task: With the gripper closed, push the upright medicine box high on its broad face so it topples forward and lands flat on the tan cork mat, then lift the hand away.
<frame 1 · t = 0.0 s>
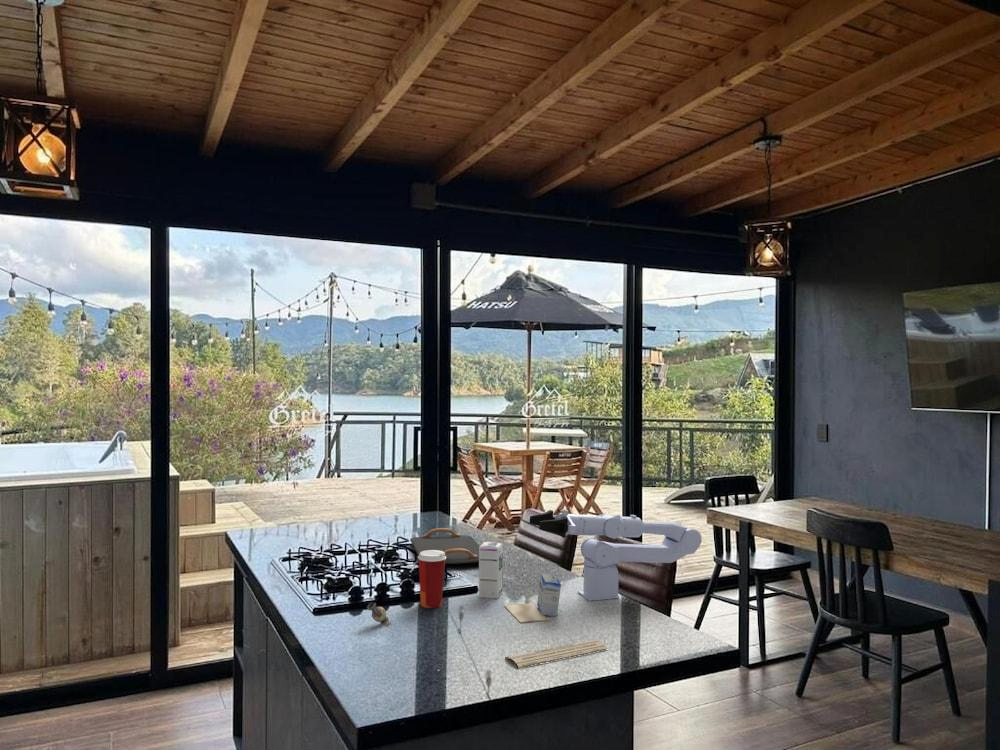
hand: (534, 522, 196), 22 cm above the counter, tool horizontal, fingers open, 7 cm apart
syrup box: (490, 595, 201), on the counter
paper cup: (430, 605, 191), on the counter
medicine box: (547, 611, 188), on the counter, touching cork mat
tan ridged strip: (555, 657, 159), on the counter
serving board: (447, 556, 245), on the counter
cork mat: (525, 613, 186), on the counter
vase: (377, 626, 175), on the counter
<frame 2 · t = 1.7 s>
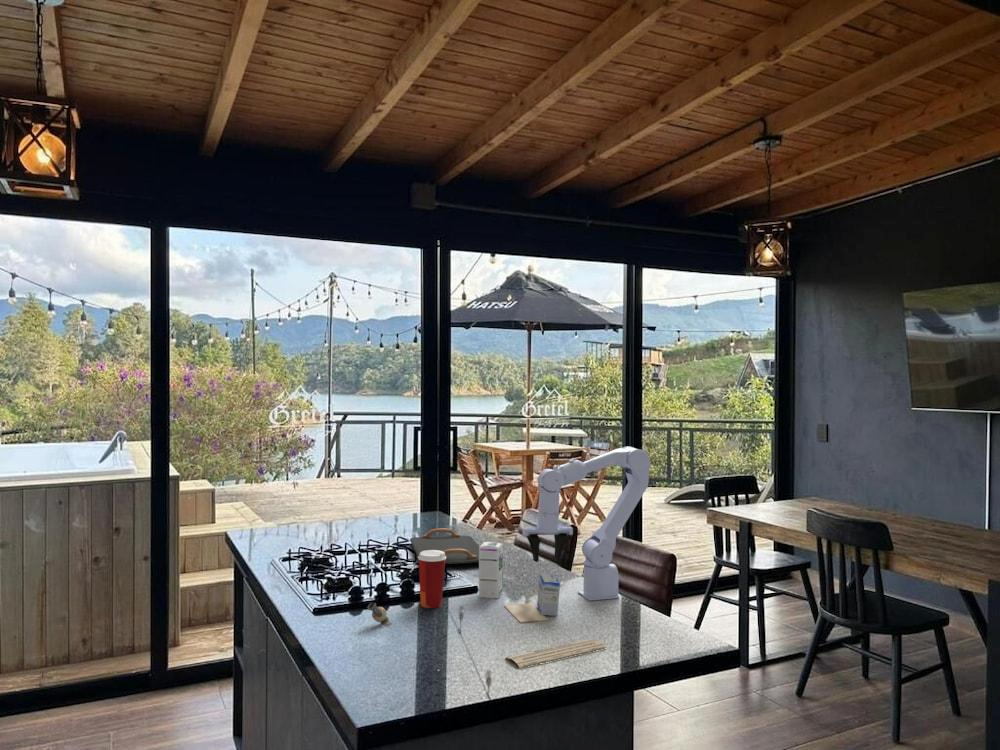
hand: (546, 560, 199), 10 cm above the counter, tool pointing down, fingers open, 6 cm apart
nothing on the counter moved.
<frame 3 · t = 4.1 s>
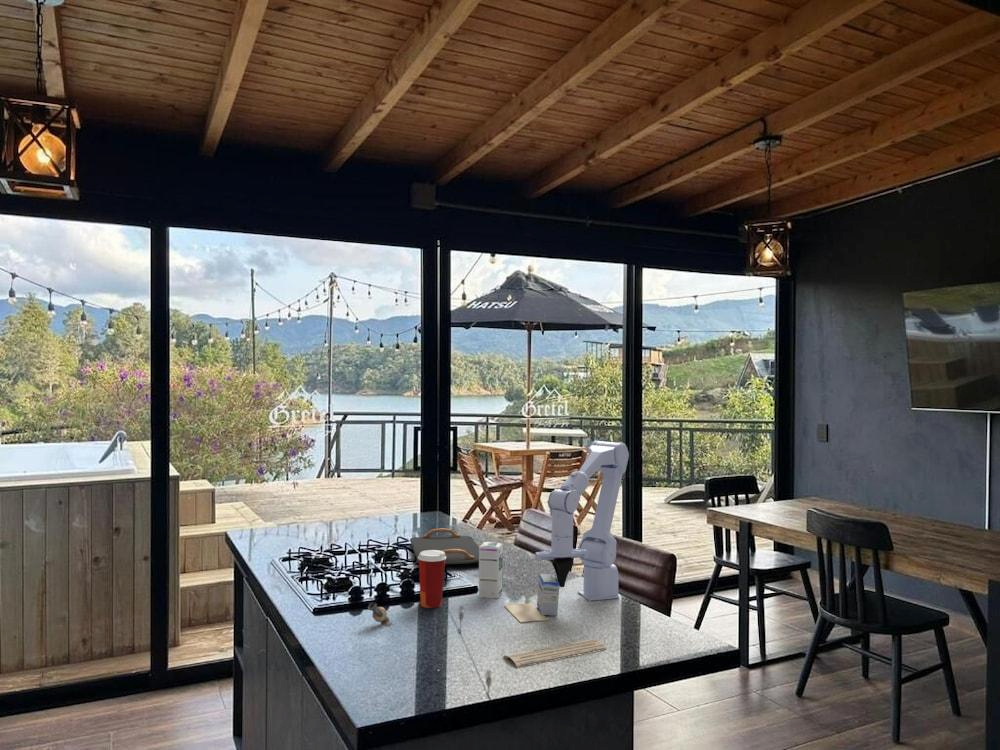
hand: (561, 586, 189), 6 cm above the counter, tool pointing down, fingers closed
medicine box: (547, 611, 188), on the counter, touching cork mat, gripper
everything else where it was.
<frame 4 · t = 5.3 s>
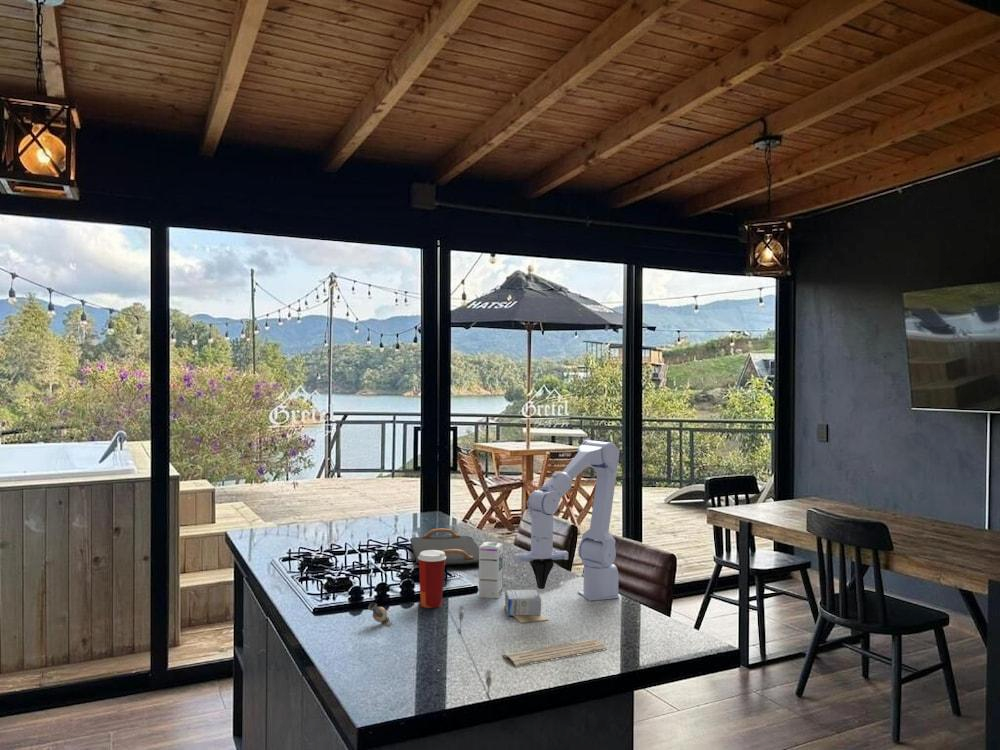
hand: (540, 587, 187), 6 cm above the counter, tool pointing down, fingers closed
medicine box: (539, 602, 187), point 3 cm above the counter, touching cork mat
everything else where it was.
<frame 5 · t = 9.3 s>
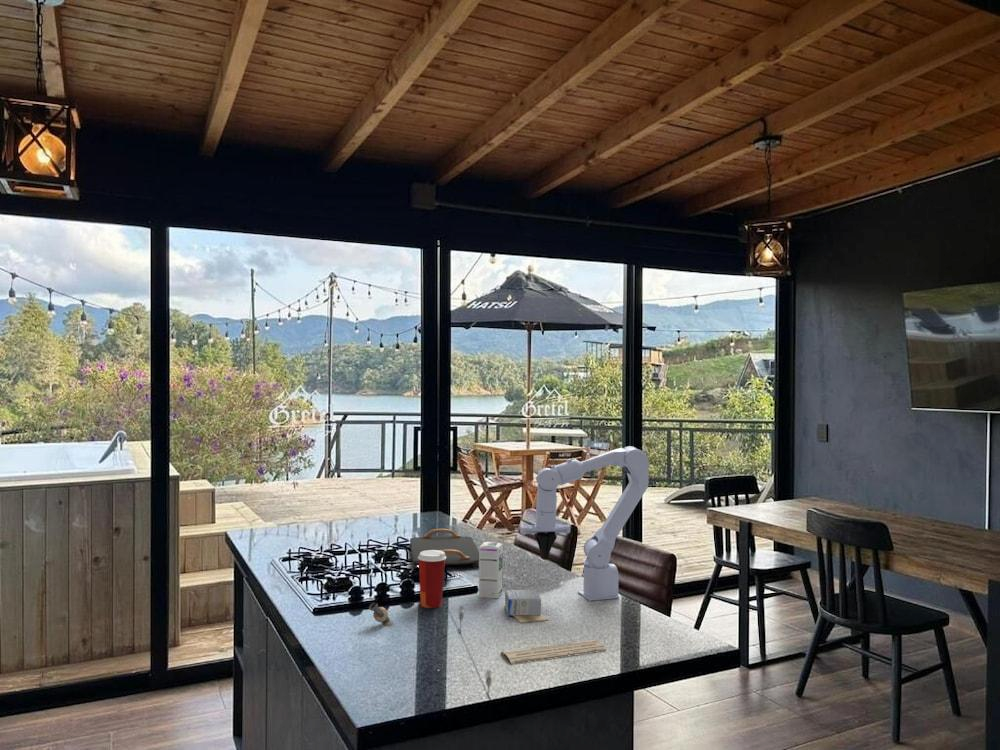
hand: (544, 558, 201), 10 cm above the counter, tool pointing down, fingers closed
at the end: medicine box tilted 90°; medicine box inside the target area (4.5 cm from its centre), point 2.5 cm above the counter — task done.
